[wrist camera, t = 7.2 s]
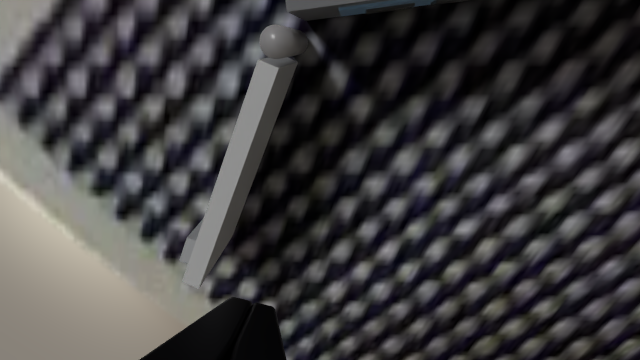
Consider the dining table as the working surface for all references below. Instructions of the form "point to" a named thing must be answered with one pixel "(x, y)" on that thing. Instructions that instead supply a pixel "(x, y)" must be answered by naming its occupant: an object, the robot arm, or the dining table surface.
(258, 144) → the side door
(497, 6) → the dining table surface
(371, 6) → the grey appliance box
